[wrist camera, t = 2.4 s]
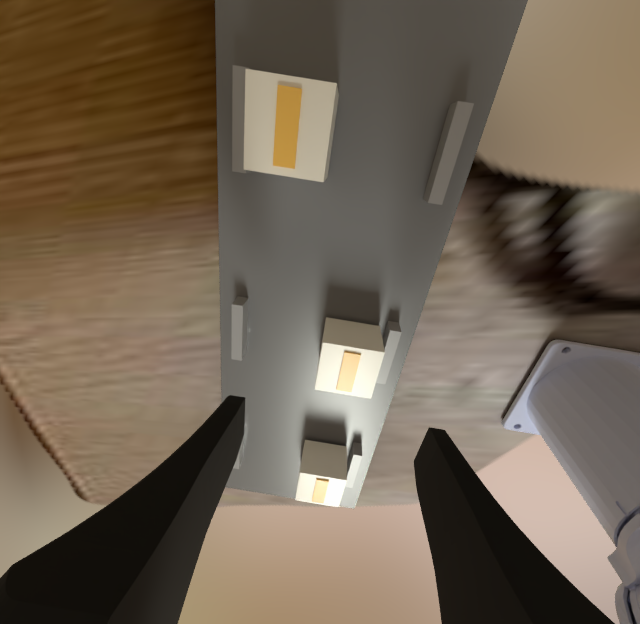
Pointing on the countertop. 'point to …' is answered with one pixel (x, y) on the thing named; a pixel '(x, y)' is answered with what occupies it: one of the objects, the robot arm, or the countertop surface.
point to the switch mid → (349, 358)
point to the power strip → (342, 206)
